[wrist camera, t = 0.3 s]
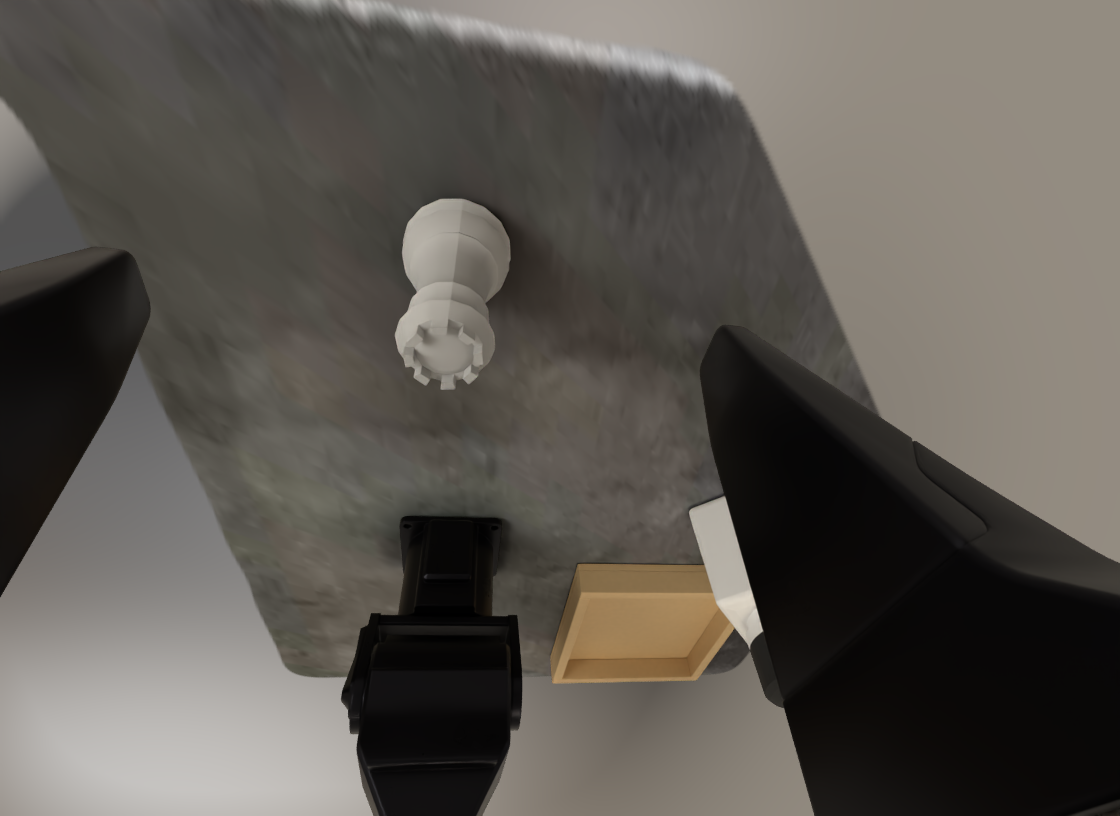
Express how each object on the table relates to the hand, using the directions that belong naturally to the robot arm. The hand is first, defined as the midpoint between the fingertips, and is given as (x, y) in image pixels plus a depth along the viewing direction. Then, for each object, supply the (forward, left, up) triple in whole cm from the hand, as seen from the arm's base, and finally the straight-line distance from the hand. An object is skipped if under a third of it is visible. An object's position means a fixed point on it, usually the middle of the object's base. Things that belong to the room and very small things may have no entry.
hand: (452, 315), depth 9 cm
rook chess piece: (-6, +1, -15) cm, 16 cm away
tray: (-38, -15, -15) cm, 44 cm away
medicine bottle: (-24, -20, -15) cm, 35 cm away
